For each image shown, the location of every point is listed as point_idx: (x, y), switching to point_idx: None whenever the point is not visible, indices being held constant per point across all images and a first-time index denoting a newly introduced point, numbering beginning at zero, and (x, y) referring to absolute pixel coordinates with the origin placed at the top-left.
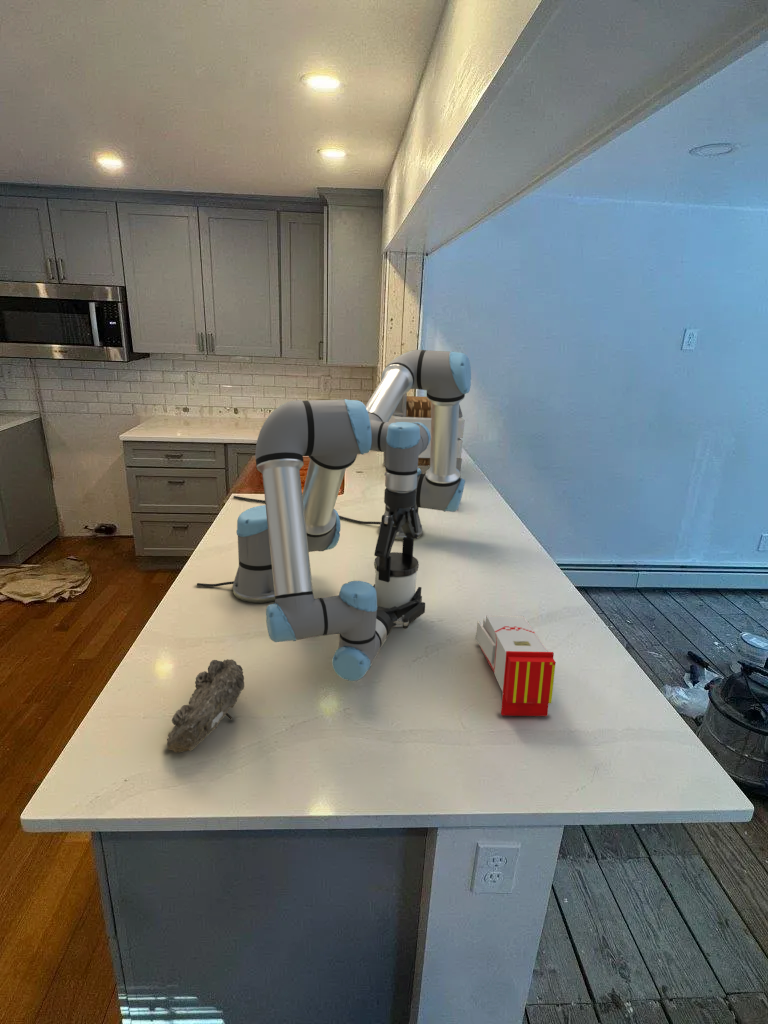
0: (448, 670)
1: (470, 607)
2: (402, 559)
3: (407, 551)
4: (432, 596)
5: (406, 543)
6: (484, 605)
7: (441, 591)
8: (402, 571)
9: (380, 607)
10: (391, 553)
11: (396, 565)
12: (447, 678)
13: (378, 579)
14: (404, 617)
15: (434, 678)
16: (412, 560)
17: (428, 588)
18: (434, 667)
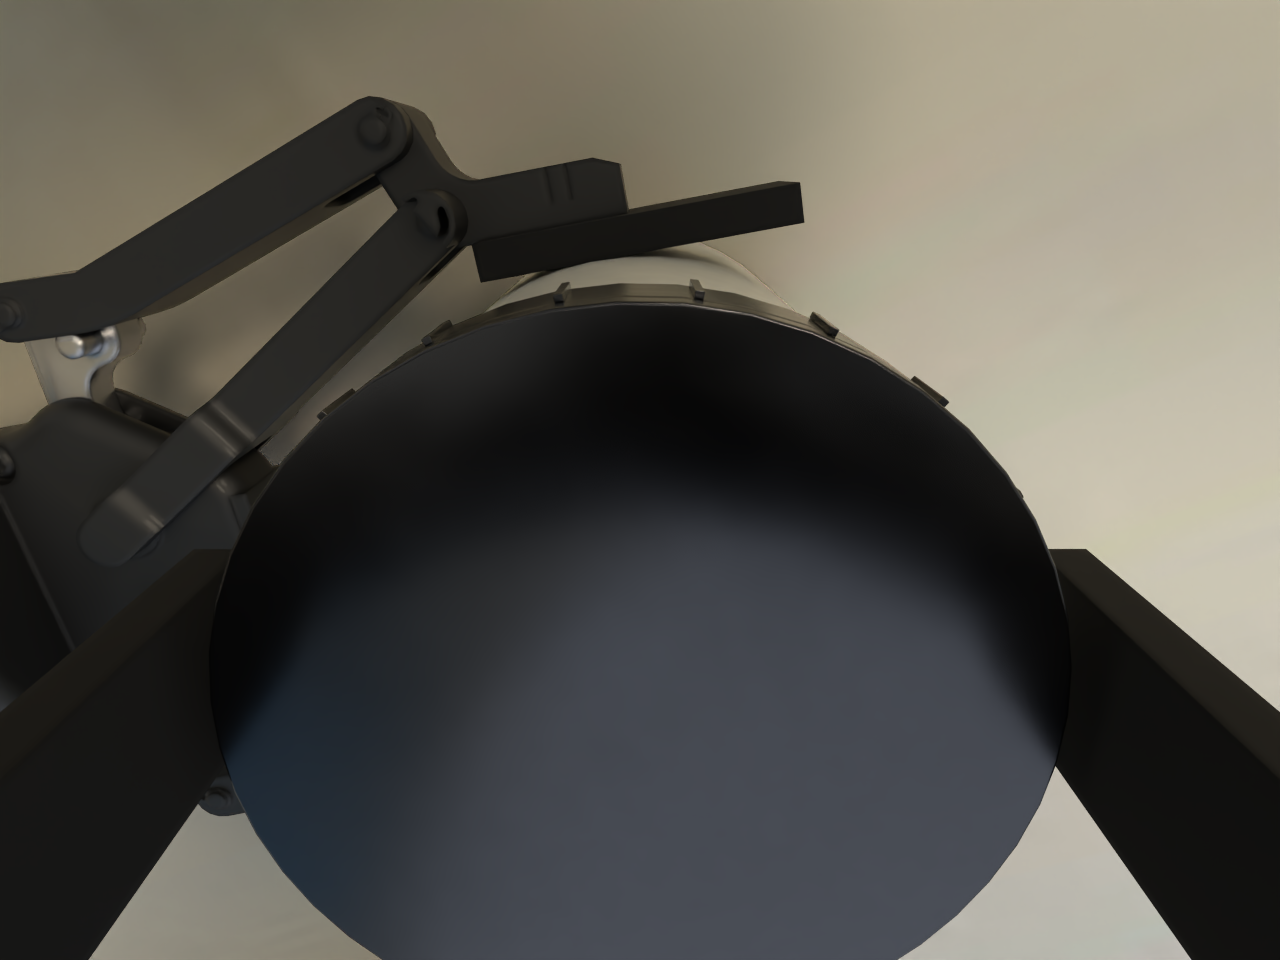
0: (277, 923)
1: (1054, 812)
2: (774, 781)
3: (1128, 762)
4: (1119, 535)
5: (1254, 876)
6: (1122, 873)
7: (1239, 563)
8: (363, 930)
9: (230, 527)
10: (949, 496)
11: (471, 802)
12: (209, 940)
13: (191, 552)
14: (222, 785)
15: (160, 893)
16: (825, 918)
17: (1260, 451)
18: (249, 861)
